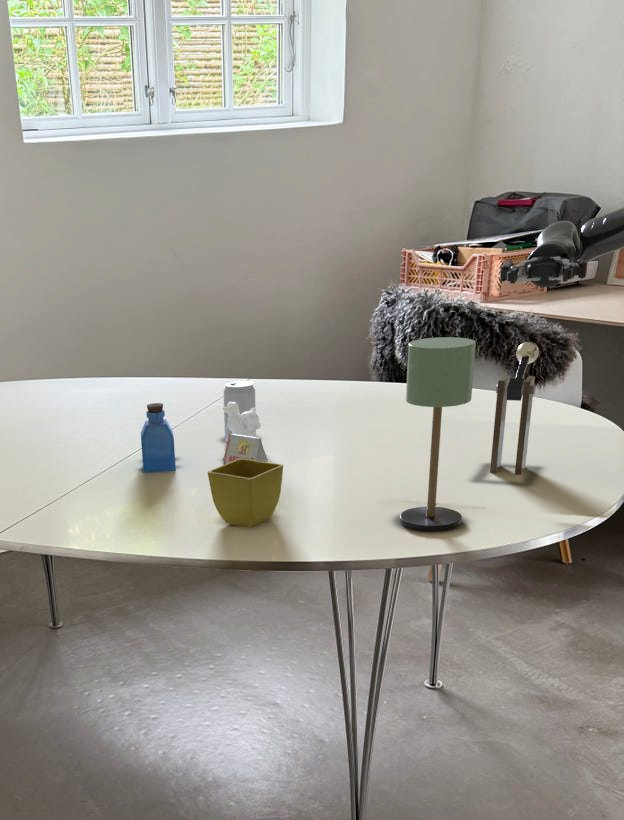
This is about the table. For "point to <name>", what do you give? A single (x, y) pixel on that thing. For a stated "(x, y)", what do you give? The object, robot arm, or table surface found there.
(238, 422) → the white animal figurine
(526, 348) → the lamp switch
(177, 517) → the table surface
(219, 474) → the flower pot
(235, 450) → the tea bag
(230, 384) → the beverage can
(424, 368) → the desk lamp
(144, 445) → the blue corked bottle
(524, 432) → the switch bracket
